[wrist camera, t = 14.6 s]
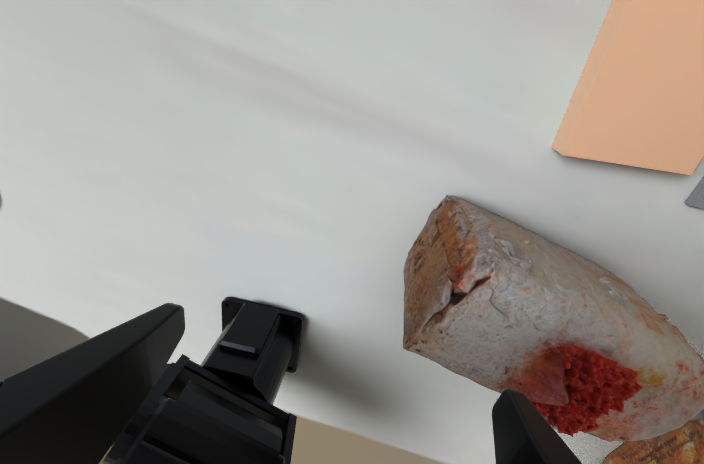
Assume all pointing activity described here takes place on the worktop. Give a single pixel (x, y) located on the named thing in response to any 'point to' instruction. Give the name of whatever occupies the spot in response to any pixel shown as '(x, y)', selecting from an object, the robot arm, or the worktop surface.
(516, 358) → the food item
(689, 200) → the pad
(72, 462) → the robot arm
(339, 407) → the worktop surface
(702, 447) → the tin
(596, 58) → the tile
